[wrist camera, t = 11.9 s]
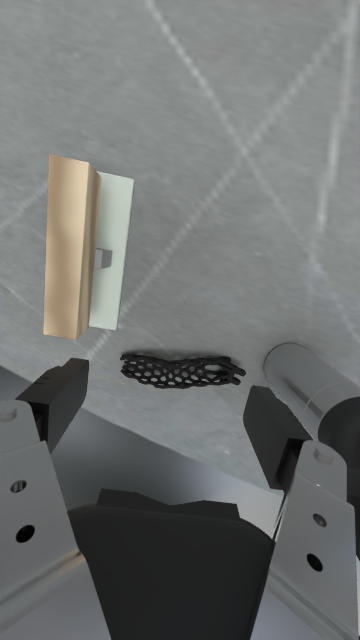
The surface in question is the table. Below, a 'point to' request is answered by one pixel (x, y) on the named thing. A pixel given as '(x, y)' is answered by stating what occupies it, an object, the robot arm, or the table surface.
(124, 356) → the decorative element
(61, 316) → the plank
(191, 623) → the robot arm
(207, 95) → the table surface
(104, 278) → the fulcrum
